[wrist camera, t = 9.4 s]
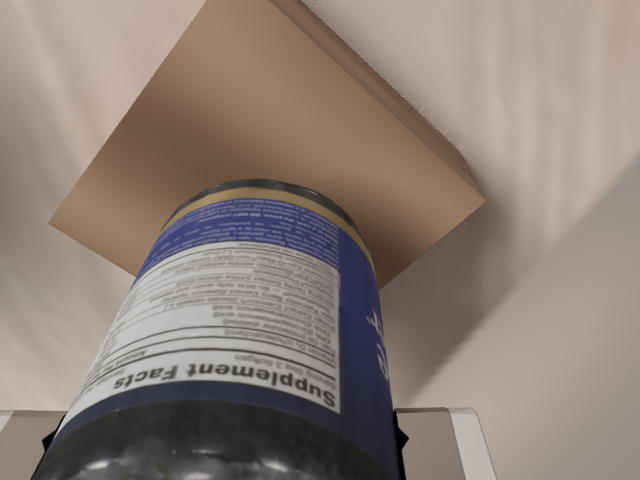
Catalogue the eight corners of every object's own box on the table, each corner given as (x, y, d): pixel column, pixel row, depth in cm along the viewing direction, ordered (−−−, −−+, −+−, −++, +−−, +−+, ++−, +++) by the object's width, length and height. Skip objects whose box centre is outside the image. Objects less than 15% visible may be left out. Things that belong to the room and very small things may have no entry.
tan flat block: (289, 302, 24) (284, 368, 21) (92, 170, 21) (47, 223, 17) (458, 150, 20) (486, 200, 17) (249, -48, 17) (231, -35, 13)
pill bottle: (349, 359, 17) (374, 925, 8) (155, 332, 16) (-72, 903, 7) (399, 189, 14) (550, 825, 4) (157, 149, 13) (-265, 772, 4)
